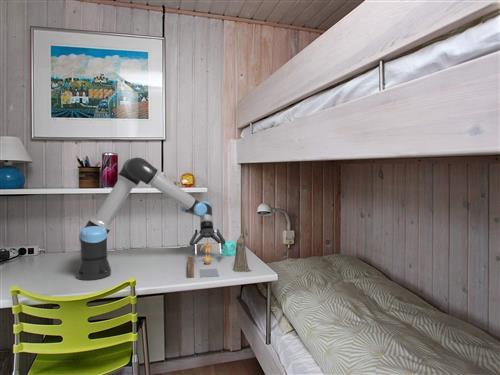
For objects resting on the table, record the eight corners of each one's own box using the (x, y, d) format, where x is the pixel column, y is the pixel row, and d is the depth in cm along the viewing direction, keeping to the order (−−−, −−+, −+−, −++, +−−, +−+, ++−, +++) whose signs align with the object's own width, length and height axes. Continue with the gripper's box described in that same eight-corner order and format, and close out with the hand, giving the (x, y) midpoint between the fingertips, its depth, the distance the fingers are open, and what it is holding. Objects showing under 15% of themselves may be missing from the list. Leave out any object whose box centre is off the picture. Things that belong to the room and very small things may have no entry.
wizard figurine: (251, 267, 176) (251, 221, 175) (252, 272, 168) (252, 223, 167) (232, 267, 176) (232, 221, 175) (232, 272, 168) (232, 223, 166)
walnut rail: (187, 278, 158) (187, 270, 158) (187, 262, 185) (187, 256, 185) (194, 277, 158) (194, 270, 158) (193, 262, 186) (193, 256, 186)
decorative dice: (237, 254, 204) (237, 241, 204) (228, 257, 198) (228, 243, 198) (228, 252, 209) (228, 240, 209) (219, 254, 203) (219, 242, 203)
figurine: (199, 265, 180) (199, 243, 180) (200, 262, 186) (200, 241, 186) (215, 264, 181) (215, 243, 180) (215, 261, 187) (215, 241, 186)
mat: (200, 277, 159) (200, 276, 159) (199, 270, 171) (199, 269, 171) (219, 276, 161) (219, 275, 161) (216, 269, 172) (216, 268, 172)
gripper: (226, 226, 201) (230, 257, 187) (185, 228, 196) (185, 259, 182) (227, 219, 196) (231, 250, 182) (185, 220, 191) (185, 252, 177)
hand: (208, 254), depth 182 cm, fingers open, 13 cm apart
